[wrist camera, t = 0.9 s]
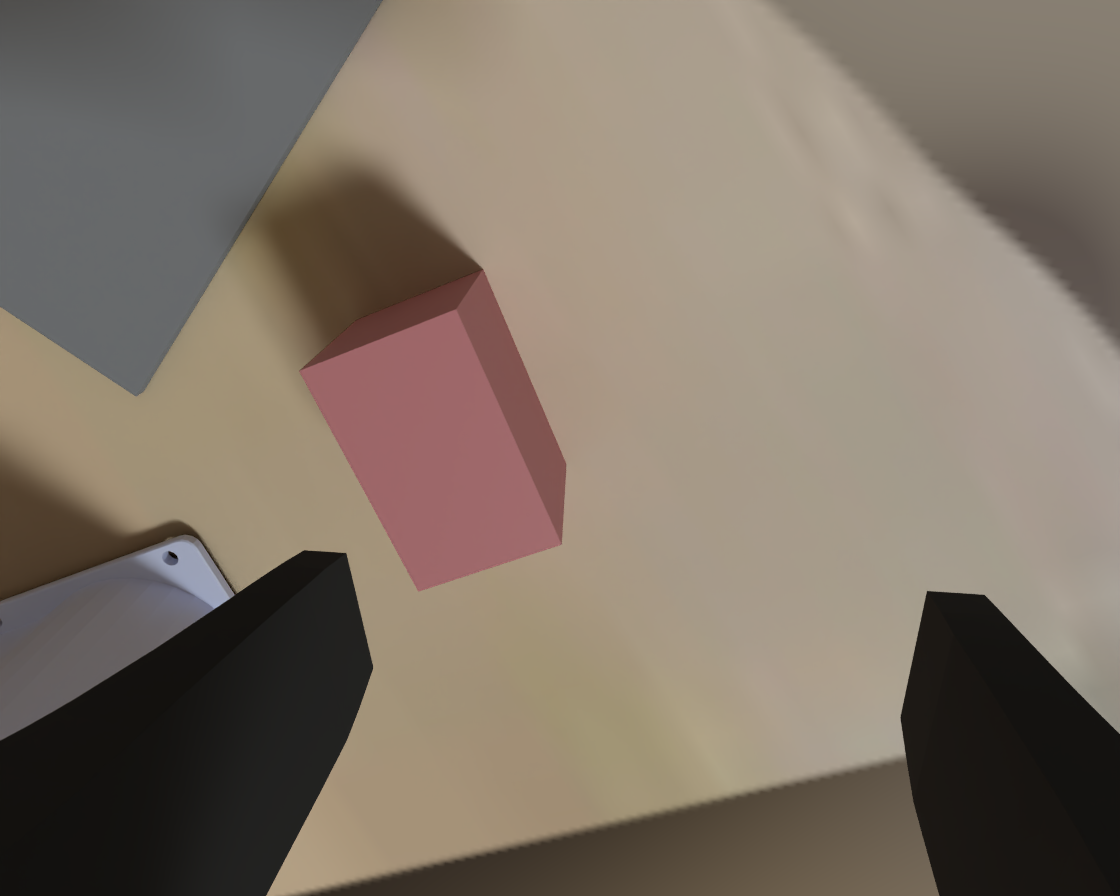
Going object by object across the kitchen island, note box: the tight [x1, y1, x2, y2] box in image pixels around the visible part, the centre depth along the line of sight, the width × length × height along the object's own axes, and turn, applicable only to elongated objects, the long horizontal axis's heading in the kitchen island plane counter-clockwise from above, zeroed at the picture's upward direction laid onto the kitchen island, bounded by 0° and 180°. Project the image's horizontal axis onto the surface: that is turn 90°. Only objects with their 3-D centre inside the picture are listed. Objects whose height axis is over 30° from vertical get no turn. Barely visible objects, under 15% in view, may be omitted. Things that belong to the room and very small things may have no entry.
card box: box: [299, 269, 566, 592], centre depth 21 cm, size 4×6×5 cm, turn 22°
